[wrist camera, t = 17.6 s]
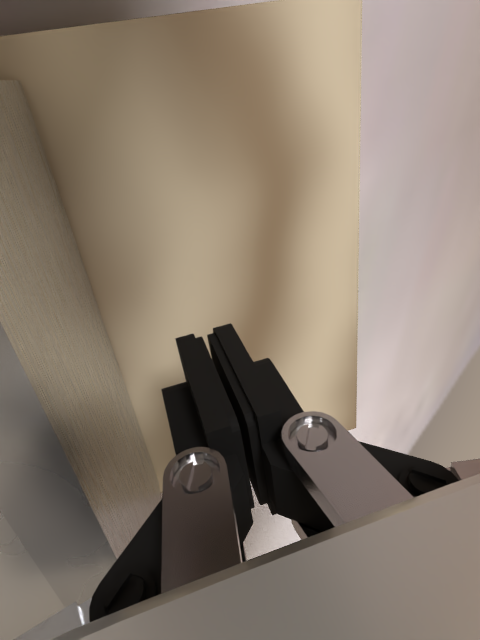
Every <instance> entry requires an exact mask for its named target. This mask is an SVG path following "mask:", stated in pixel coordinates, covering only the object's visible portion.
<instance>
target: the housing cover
mask: <svg viewBox="0 0 480 640" xmlns="http://www.w3.org/2000/svg"><path fill="white" fill-rule="evenodd" d="M160 501H161V493H160V487H159V481H158V478H157V475H156V473H155V470H154V467H153V464H152V461H151V458H150V455H149V452H148V449H147V446H146V444H145V441H144V438H143V435H142V432H141V429H140V426H139V423H138V420H137V417H136V415H135V412H134V409H133V406H132V403H131V400H130V397H129V394H128V391H127V388H126V386H125V383H124V380H123V377H122V374H121V371H120V368H119V365H118V362H117V360H116V357H115V354H114V351H113V348H112V345H111V342H110V339H109V336H108V333H107V331H106V328H105V325H104V322H103V319H102V316H101V313H100V310H99V307H98V304H97V302H96V299H95V296H94V293H93V290H92V287H91V284H90V281H89V278H88V275H87V273H86V270H85V267H84V264H83V261H82V258H81V255H80V252H79V249H78V246H77V244H76V241H75V238H74V235H73V232H72V229H71V226H70V223H69V220H68V218H67V215H66V212H65V209H64V206H63V203H62V200H61V197H60V194H59V191H58V189H57V186H56V183H55V180H54V177H53V174H52V171H51V168H50V165H49V162H48V160H47V157H46V154H45V151H44V148H43V145H42V142H41V139H40V136H39V133H38V131H37V128H36V125H35V122H34V119H33V116H32V113H31V110H30V107H29V104H28V102H27V99H26V96H25V93H24V90H23V87H22V84H21V81H20V80H0V640H13V639H15V638H17V637H18V636H20V635H22V634H23V633H25V632H26V631H28V630H30V629H31V628H33V627H35V626H36V625H38V624H40V623H41V622H43V621H44V620H46V619H48V618H49V617H51V616H53V615H54V614H56V613H57V612H59V611H61V610H62V609H64V608H66V607H67V606H69V605H71V604H72V603H74V602H75V601H76V602H77V604H78V605H80V604H82V603H84V602H85V601H87V600H89V599H90V598H92V596H93V594H94V592H95V590H96V589H97V587H98V585H99V583H100V582H101V581H102V579H103V578H104V576H105V575H106V574H107V572H108V571H109V570H110V568H111V567H112V566H113V564H114V563H115V562H116V560H117V559H118V558H119V556H120V555H121V553H122V552H123V551H124V549H125V548H126V547H127V545H128V544H129V543H130V541H131V540H132V539H133V537H134V536H135V535H136V533H137V532H138V530H139V529H140V528H141V526H142V525H143V524H144V522H145V521H146V520H147V518H148V517H149V516H150V514H151V513H152V511H153V510H154V509H155V507H156V506H157V505H158V503H159V502H160Z"/></svg>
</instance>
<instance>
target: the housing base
mask: <svg viewBox="0 0 480 640" xmlns="http://www.w3.org/2000/svg"><path fill="white" fill-rule="evenodd" d="M361 42H362V0H278V1H270V2H263V3H255V4H247V5H239V6H232V7H224V8H216V9H208V10H200V11H193V12H185V13H177V14H169V15H161V16H154V17H146V18H138V19H130V20H122V21H115V22H107V23H99V24H91V25H83V26H76V27H68V28H60V29H52V30H44V31H37V32H29V33H21V34H13V35H6V36H0V80H20V81H21V84H22V87H23V90H24V93H25V96H26V99H27V102H28V104H29V107H30V110H31V113H32V116H33V119H34V122H35V125H36V128H37V131H38V133H39V136H40V139H41V142H42V145H43V148H44V151H45V154H46V157H47V160H48V162H49V165H50V168H51V171H52V174H53V177H54V180H55V183H56V186H57V189H58V191H59V194H60V197H61V200H62V203H63V206H64V209H65V212H66V215H67V218H68V220H69V223H70V226H71V229H72V232H73V235H74V238H75V241H76V244H77V246H78V249H79V252H80V255H81V258H82V261H83V264H84V267H85V270H86V273H87V275H88V278H89V281H90V284H91V287H92V290H93V293H94V296H95V299H96V302H97V304H98V307H99V310H100V313H101V316H102V319H103V322H104V325H105V328H106V331H107V333H108V336H109V339H110V342H111V345H112V348H113V351H114V354H115V357H116V360H117V362H118V365H119V368H120V371H121V374H122V377H123V380H124V383H125V386H126V388H127V391H128V394H129V397H130V400H131V403H132V406H133V409H134V412H135V415H136V417H137V420H138V423H139V426H140V429H141V432H142V435H143V438H144V441H145V444H146V446H147V449H148V452H149V455H150V458H151V461H152V464H153V467H154V470H155V473H156V475H157V478H158V481H159V487H160V493H162V492H163V475H164V470H165V468H166V467H167V465H168V463H169V462H170V461H171V460H172V459H173V458H174V457H175V456H176V454H175V449H174V445H173V440H172V436H171V431H170V427H169V422H168V418H167V413H166V409H165V404H164V400H163V395H162V391H161V389H163V388H166V387H170V386H173V385H176V384H180V383H183V382H186V379H185V375H184V371H183V367H182V363H181V359H180V355H179V352H178V348H177V344H176V339H175V338H178V337H182V336H186V335H189V334H194V336H195V338H197V337H201V336H202V337H203V340H204V342H205V344H206V347H207V349H208V351H209V354H210V356H211V352H210V348H209V343H208V338H207V335H208V334H212V333H213V328H215V327H219V326H222V325H226V324H230V323H231V324H232V325H233V327H234V329H235V331H236V332H237V334H238V336H239V338H240V339H241V341H242V343H243V345H244V346H245V348H246V350H247V352H248V353H249V355H250V357H251V359H252V360H253V362H255V361H258V360H262V359H265V358H269V359H270V360H271V361H272V362H273V364H274V366H275V367H276V369H277V370H278V372H279V373H280V375H281V376H282V378H283V380H284V381H285V383H286V384H287V386H288V387H289V389H290V391H291V392H292V394H293V395H294V397H295V398H296V400H297V402H298V403H299V405H300V406H301V408H302V409H303V411H304V412H309V411H316V412H323V413H325V414H328V415H330V416H332V417H333V418H335V419H336V420H337V421H338V422H339V423H340V424H341V425H342V426H343V427H344V428H345V429H346V430H347V431H348V430H351V429H354V428H356V397H357V326H358V255H359V184H360V113H361ZM211 358H212V357H211Z"/></svg>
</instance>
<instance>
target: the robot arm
mask: <svg viewBox="0 0 480 640" xmlns="http://www.w3.org/2000/svg"><path fill="white" fill-rule="evenodd" d="M207 338H208V343H209V348H210V352H211V356H210V354H209V351H208V349H207V347H206V344H205V342H204V340H203V337H202V336H201V337H197V338H195V336H194V334H189V335H186V336H182V337H178V338H175V339H176V344H177V348H178V352H179V355H180V359H181V363H182V367H183V371H184V375H185V379H186V382H183V383H180V384H176V385H173V386H170V387H166V388H163V389H161V391H162V395H163V400H164V404H165V409H166V413H167V418H168V422H169V427H170V431H171V436H172V440H173V445H174V449H175V454H176V456H175V457H174V458H173V459H172V460H171V461H170V462H169V463H168V465H167V467H166V468H165V470H164V475H163V496H162V499H161V501H160V502H159V503H158V505H157V506H156V507H155V509H154V510H153V511H152V513H151V514H150V516H149V517H148V518H147V520H146V521H145V522H144V524H143V525H142V526H141V528H140V529H139V530H138V532H137V533H136V535H135V536H134V537H133V539H132V540H131V541H130V543H129V544H128V545H127V547H126V548H125V549H124V551H123V552H122V553H121V555H120V556H119V558H118V559H117V560H116V562H115V563H114V564H113V566H112V567H111V568H110V570H109V571H108V572H107V574H106V575H105V576H104V578H103V579H102V581H101V582H100V583H99V585H98V587H97V589H96V590H95V592H94V594H93V596H92V598H90V599H89V600H87V601H85V602H84V603H82V604H80V605H78V604H77V602H76V601H75V602H74V603H72V604H71V605H69V606H67V607H66V608H64V609H62V610H61V611H59V612H57V613H56V614H54V615H53V616H51V617H49V618H48V619H46V620H44V621H43V622H41V623H40V624H38V625H36V626H35V627H33V628H31V629H30V630H28V631H26V632H25V633H23V634H22V635H20V636H18V637H17V638H15V639H13V640H480V459H473V460H466V461H458V462H451V467H449V468H445V467H443V466H441V465H439V464H436V463H434V462H431V461H428V460H424V459H421V458H417V457H413V456H409V455H406V454H402V453H399V452H395V451H392V450H388V449H384V448H381V447H377V446H374V445H370V444H366V443H363V442H359V441H357V440H356V439H355V438H354V437H353V436H352V435H351V434H350V433H349V432H348V431H347V430H346V429H345V428H344V427H343V426H342V425H341V424H340V423H339V422H338V421H337V420H336V419H335V418H333V417H332V416H330V415H328V414H325V413H323V412H316V411H309V412H304V411H303V409H302V408H301V406H300V405H299V403H298V402H297V400H296V398H295V397H294V395H293V394H292V392H291V391H290V389H289V387H288V386H287V384H286V383H285V381H284V380H283V378H282V376H281V375H280V373H279V372H278V370H277V369H276V367H275V366H274V364H273V362H272V361H271V360H270V359H269V358H265V359H262V360H258V361H255V362H253V360H252V359H251V357H250V355H249V353H248V352H247V350H246V348H245V346H244V345H243V343H242V341H241V339H240V338H239V336H238V334H237V332H236V331H235V329H234V327H233V325H232V324H231V323H230V324H226V325H222V326H219V327H215V328H213V333H212V334H208V335H207ZM211 357H212V358H211ZM250 481H251V484H252V486H253V489H254V491H255V494H256V496H257V499H258V501H259V503H260V505H263V504H266V503H267V504H268V506H269V509H270V511H271V513H272V515H274V514H279V515H281V516H284V517H287V518H289V519H291V521H292V524H293V527H294V529H295V531H296V532H297V534H298V535H299V537H300V538H301V540H300V541H298V542H295V543H292V544H290V545H287V546H284V547H282V548H279V549H277V550H274V551H271V552H269V553H266V554H263V555H261V556H258V557H256V558H253V559H250V560H248V561H247V558H246V552H245V546H244V540H245V538H246V536H247V534H248V532H249V530H250V528H251V526H252V524H253V519H252V514H251V509H252V508H254V501H253V496H252V490H251V485H250Z"/></svg>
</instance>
